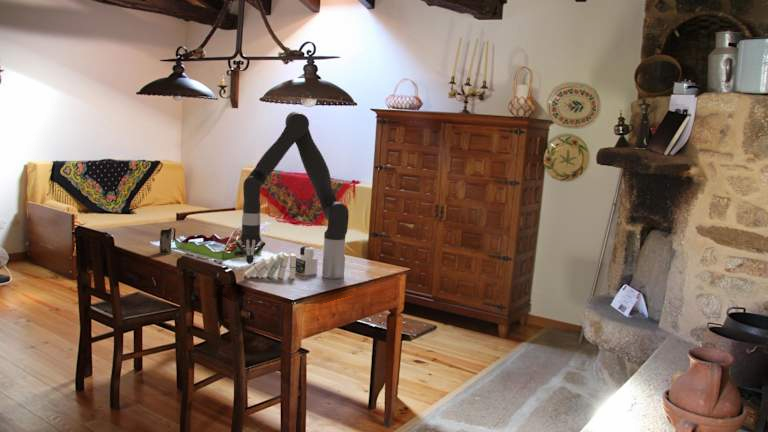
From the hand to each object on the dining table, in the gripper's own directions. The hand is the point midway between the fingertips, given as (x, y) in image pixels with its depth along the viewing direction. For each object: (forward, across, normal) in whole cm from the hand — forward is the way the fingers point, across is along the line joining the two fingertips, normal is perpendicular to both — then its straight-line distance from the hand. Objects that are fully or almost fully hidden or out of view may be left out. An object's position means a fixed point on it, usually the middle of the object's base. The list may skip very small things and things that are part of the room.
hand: (249, 263), depth 272 cm
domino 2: (+5, +4, 0) cm, 6 cm away
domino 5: (+6, +18, 0) cm, 19 cm away
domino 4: (+6, +13, 0) cm, 14 cm away
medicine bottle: (+6, +25, +8) cm, 27 cm away
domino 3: (+5, +8, 0) cm, 10 cm away
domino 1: (+5, -1, 0) cm, 5 cm away
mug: (+6, -37, +48) cm, 61 cm away
